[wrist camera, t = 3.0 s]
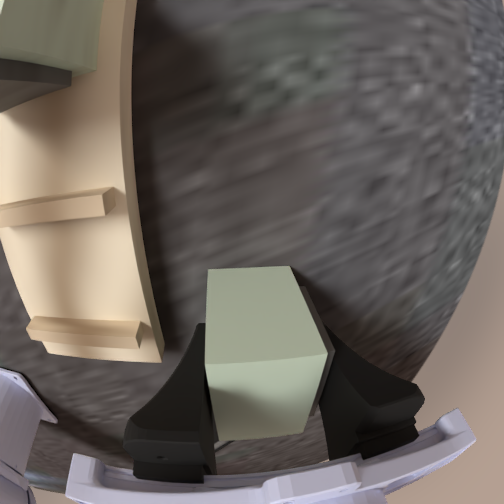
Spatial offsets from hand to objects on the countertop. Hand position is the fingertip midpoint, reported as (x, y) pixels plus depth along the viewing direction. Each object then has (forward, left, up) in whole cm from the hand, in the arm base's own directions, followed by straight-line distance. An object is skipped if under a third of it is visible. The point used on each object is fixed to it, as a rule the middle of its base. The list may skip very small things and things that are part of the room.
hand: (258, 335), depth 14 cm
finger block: (0, 0, -2) cm, 2 cm away
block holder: (-9, +8, -2) cm, 12 cm away
